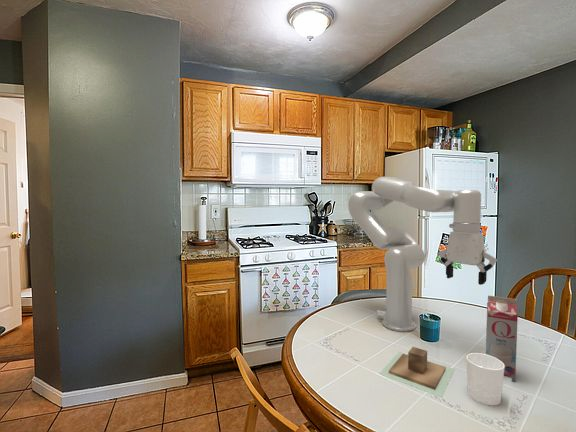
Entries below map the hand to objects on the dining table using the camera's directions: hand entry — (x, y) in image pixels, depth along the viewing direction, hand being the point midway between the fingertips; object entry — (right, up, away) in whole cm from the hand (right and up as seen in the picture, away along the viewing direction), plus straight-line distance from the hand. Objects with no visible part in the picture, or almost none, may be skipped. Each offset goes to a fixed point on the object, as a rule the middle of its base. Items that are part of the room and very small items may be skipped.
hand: (465, 280), depth 98 cm
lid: (-21, -23, -13) cm, 34 cm away
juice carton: (+3, -24, -12) cm, 27 cm away
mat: (-21, -24, -13) cm, 34 cm away
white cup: (-9, -25, -23) cm, 35 cm away
